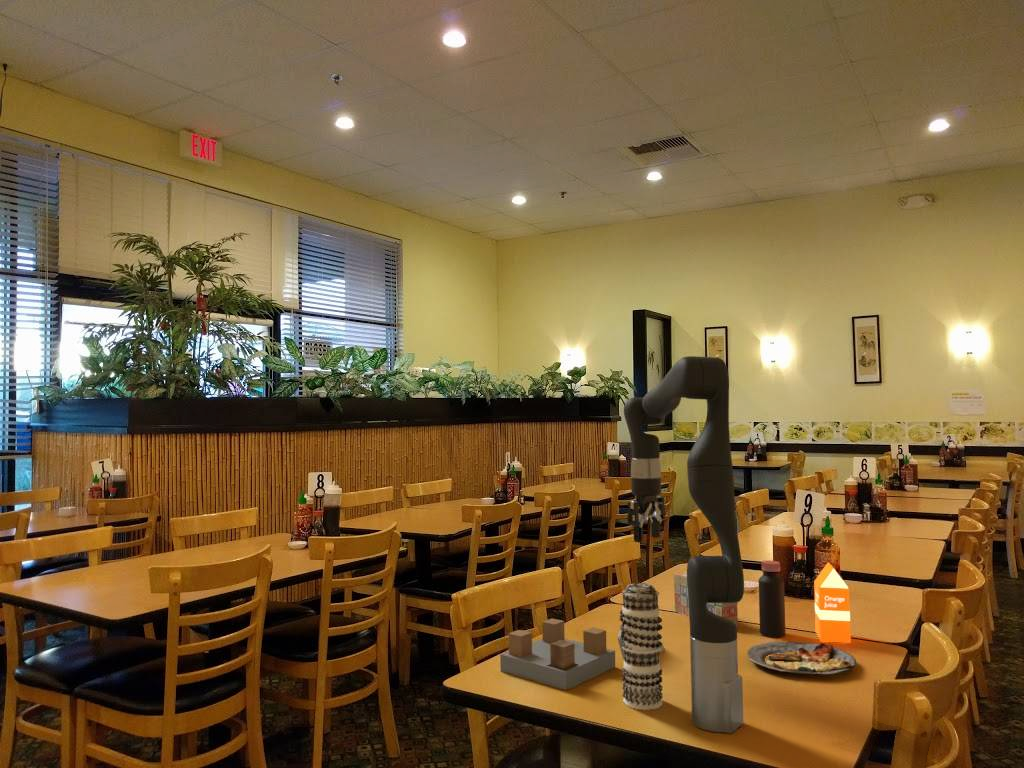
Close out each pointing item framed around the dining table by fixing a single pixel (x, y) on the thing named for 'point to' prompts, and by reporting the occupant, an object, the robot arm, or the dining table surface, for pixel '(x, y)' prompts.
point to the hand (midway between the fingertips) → (647, 539)
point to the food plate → (802, 657)
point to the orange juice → (832, 607)
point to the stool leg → (562, 655)
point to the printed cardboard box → (717, 608)
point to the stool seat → (536, 661)
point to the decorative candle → (641, 647)
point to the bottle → (771, 600)
